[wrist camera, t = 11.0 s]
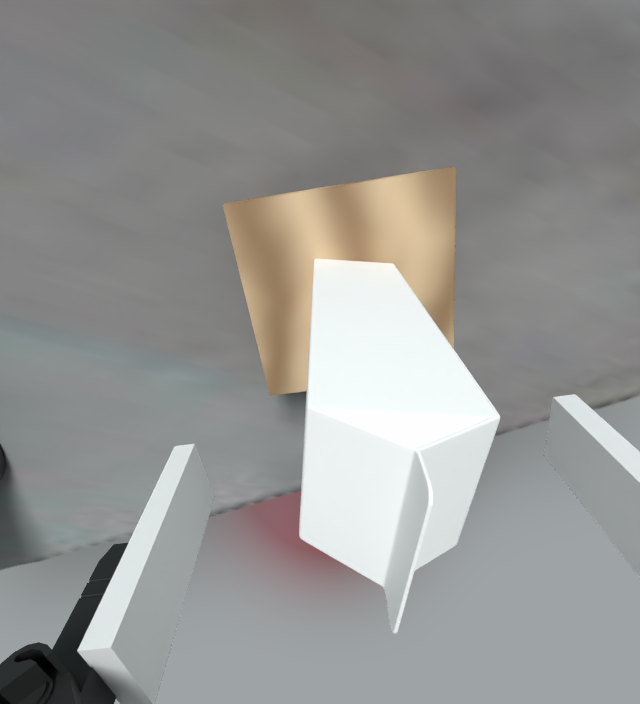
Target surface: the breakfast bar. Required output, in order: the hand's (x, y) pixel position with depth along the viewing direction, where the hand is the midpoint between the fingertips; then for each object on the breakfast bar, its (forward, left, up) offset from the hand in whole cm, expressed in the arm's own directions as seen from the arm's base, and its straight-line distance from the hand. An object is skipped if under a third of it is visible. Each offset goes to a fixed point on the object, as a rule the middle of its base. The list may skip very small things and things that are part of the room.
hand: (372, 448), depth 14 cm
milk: (0, 0, -17) cm, 17 cm away
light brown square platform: (0, 0, -23) cm, 23 cm away
